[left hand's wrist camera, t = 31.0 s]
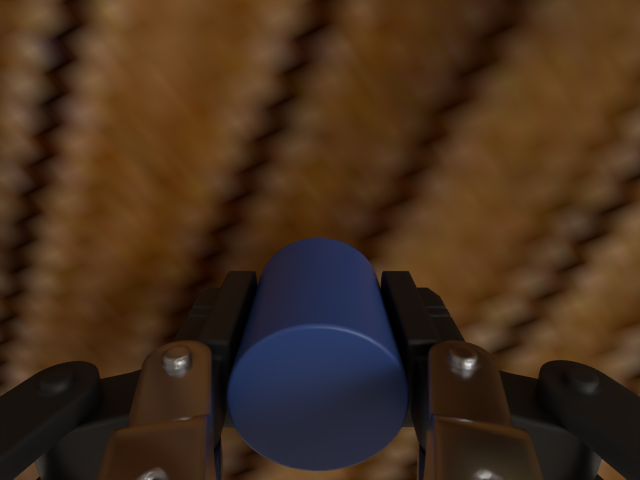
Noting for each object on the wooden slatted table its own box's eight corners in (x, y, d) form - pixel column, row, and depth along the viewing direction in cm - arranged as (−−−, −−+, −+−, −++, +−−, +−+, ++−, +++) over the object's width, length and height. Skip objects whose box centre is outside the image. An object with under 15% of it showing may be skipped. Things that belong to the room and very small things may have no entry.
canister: (398, 316, 13) (438, 435, 8) (294, 361, 13) (282, 494, 9) (346, 215, 12) (362, 293, 7) (235, 269, 12) (188, 371, 8)
